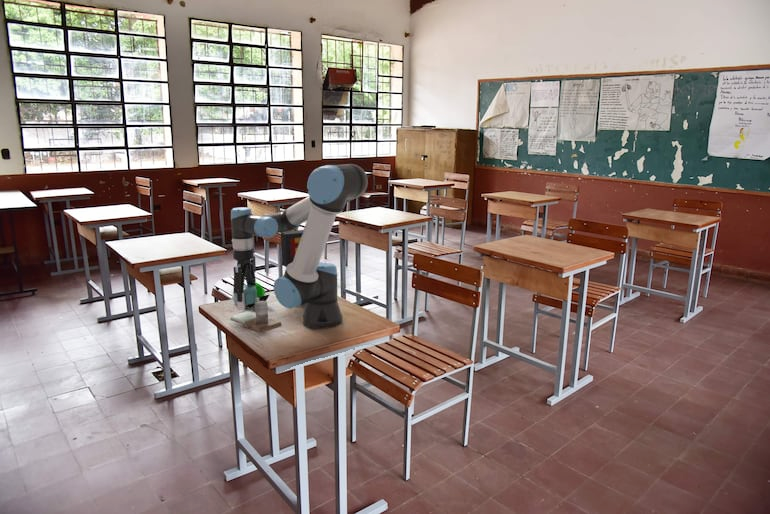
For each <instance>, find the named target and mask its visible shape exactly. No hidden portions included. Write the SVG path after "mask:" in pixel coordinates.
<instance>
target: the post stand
mask: <svg viewBox="0 0 770 514" xmlns="http://www.w3.org/2000/svg"><path fill="white" fill-rule="evenodd" d="M254 309H255V311H254V312H255V313H256V319H254V320H251V321H248V322H245V323H242V327H245V328H247V329H249V328H250V330H252V331H255V332H258V333H262V332H265V331H268V330H271V329H273V328H276V327H280V326H282V321H280V320H277V319H273V318H271V317H269V315H268V314H269V313H268V311H269V310H268V302H267V300H266V301H258V302H255V306H254Z"/></svg>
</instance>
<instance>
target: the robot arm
mask: <svg viewBox="0 0 770 514" xmlns="http://www.w3.org/2000/svg"><path fill="white" fill-rule="evenodd" d="M307 179H308V180H307V185H306V188H307V190H308V191H307V193H308V196H306V197H305V198H303V199H302V200H299V201H298V202H295V204H293V205H291V206H289V207H288V208H286V209H284V210H282V211H280V212H273V213H268V214H263V215H259V214H258V215H257V214H253V212H252V208H250V207H243V206H242V207H233V208H232V209H230V225H231V238H232V239H231V242H232V248H233V250H232V258H233V260H235V261H237V262H236V263H237V264H236V266H234V267H233V292H234V293H237V304H236V306H237V310H242V311H243V310H246V308H245V307H246V305H245V299H244V293H243V288H244V285H245V281H246V284H247V285H251V286H253V285H256V283H257V279H256V275H255V274H256V271H255V266H254V263H255V262H254V261H255V260H254V249H253V247H254V238H253V237H254V236H255V237H260V238H267V239H268V238H269V239H270V238H272V237H274V236H275V235H276V234H281V232H286V231H295V230H297V229H298V228H299V227H300V226H301V224H303V223H305V225H304V228H303V230H304V231H303V234H302V237H301V240H300V243H299V246H298V249H297V252H296V255H295V257H294V260H293V263H290V264H288V265H287V267H285V270H284V274H283V276H280V277H278V278H276V280H275V281H274V283H273V292H274V295H275V298H276V300H277V301H278V303H279V304H281V306H283V307H285V308H287V309H294V308H298V307H301V306H304V305H306V306H305V308H304V313H303V315H302V325H304V326H305V327H307V328H311V329H319V330H321V329H330V328H334V327H338V326H340V325H341V324H343V321H344V320H343V314H342V312H341V309H340V305H339V302H338V299H339V298H338V269H337V266H336V265H335V264H334V263H328V262H323V261H322V262H321V258H322V256H323V253H324V250H325V248H326V245H327V242H328V239H329V237H330V235H331V232H332V228H333V226H334V222H335V220H336V217H337V214H340V213H342V212H343V211H344V209H345V206H346V204H347V203H349V202H351V201H353V200H355V199H356V198H360V197H361V196H362V195H364V193H365V192H366V191H367V188H368V185H369V182H368V181H369V180H368V175H367V173H366V171H365V170H364V169H363V168H362V167H360V166H359V165H357V164H353V163H346V164H345V163H344V164H326V165H323V166H319V167H317V168H315V169H314V170H312V172H311V173H310V175H309V176H308V178H307ZM255 282H256V283H255Z"/></svg>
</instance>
